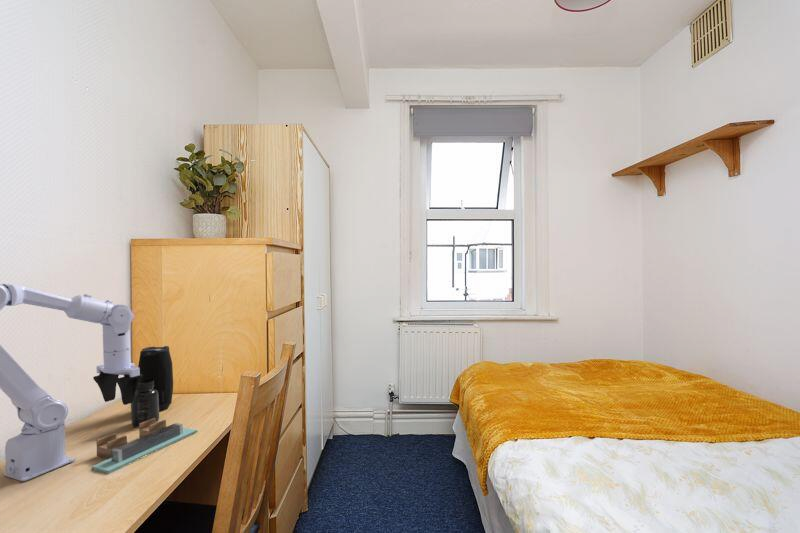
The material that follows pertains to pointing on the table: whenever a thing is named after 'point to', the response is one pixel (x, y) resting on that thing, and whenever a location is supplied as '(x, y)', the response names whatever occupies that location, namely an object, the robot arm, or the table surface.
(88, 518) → the table surface
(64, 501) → the table surface
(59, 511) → the table surface
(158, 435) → the rail
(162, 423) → the cradle right
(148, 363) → the portable speaker
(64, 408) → the robot arm
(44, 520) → the table surface
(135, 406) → the supplement bottle
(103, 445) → the cradle left
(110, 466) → the mat
